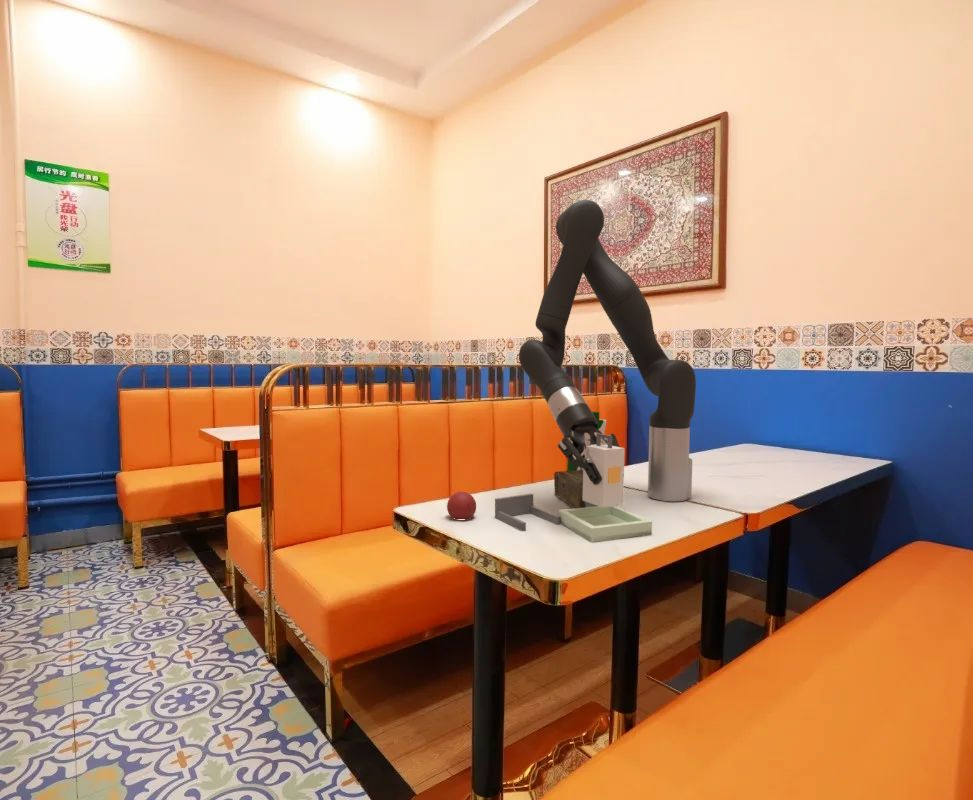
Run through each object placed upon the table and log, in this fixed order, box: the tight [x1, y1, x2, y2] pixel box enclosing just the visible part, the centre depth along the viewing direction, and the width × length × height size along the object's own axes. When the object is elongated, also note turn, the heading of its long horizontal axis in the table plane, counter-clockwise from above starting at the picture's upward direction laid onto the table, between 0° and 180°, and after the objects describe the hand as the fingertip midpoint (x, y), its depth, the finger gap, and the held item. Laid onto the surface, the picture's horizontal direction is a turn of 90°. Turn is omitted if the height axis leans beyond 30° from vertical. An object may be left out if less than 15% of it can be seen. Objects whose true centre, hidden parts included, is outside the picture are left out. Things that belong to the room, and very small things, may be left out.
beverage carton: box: [553, 470, 597, 509], centre depth 123 cm, size 8×19×7 cm, turn 13°
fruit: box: [446, 491, 477, 520], centre depth 111 cm, size 6×6×8 cm
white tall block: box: [582, 433, 626, 508], centre depth 104 cm, size 5×6×13 cm
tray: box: [557, 505, 653, 543], centre depth 105 cm, size 13×13×2 cm
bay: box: [494, 493, 561, 532], centre depth 110 cm, size 9×10×4 cm
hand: (609, 480), depth 103 cm, fingers closed on white tall block, 5 cm apart
